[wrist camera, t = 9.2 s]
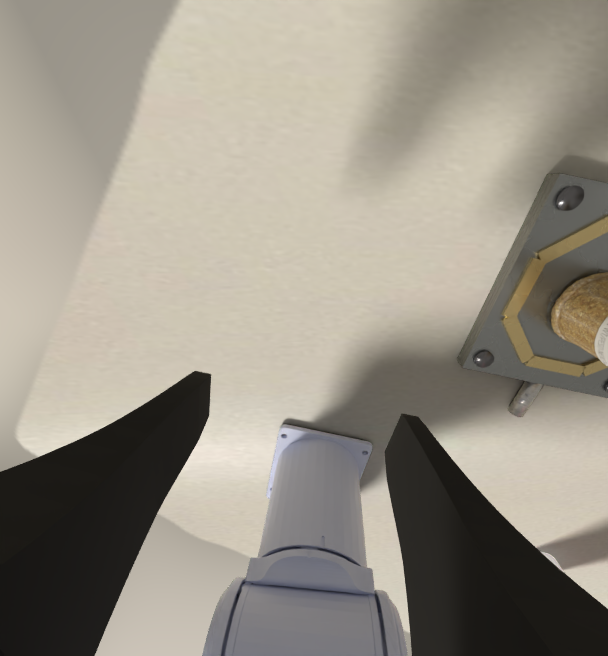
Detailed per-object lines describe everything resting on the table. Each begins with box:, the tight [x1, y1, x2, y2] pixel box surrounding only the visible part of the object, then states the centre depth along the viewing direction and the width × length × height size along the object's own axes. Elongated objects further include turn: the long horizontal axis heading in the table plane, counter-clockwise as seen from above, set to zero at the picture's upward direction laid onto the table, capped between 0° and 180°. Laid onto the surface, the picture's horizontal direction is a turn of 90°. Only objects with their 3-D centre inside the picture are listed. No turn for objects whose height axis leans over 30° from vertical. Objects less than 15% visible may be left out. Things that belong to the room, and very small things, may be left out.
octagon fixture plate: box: [457, 173, 608, 417], centre depth 18 cm, size 15×11×1 cm
